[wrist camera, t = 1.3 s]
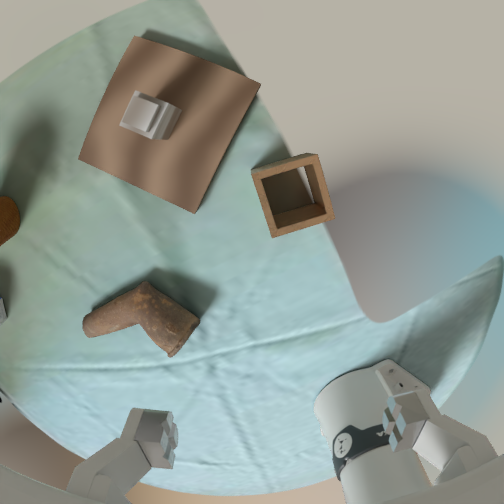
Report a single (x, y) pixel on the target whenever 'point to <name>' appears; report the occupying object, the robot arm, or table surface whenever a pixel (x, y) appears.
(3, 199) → the disposable coffee cup
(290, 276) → the table surface
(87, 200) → the table surface
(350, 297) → the table surface
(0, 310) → the medicine box
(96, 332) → the pipe
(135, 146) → the wavy brown square sheet
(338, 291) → the table surface
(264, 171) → the tan hollow cube
